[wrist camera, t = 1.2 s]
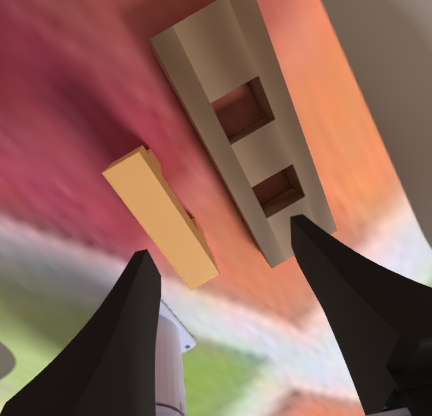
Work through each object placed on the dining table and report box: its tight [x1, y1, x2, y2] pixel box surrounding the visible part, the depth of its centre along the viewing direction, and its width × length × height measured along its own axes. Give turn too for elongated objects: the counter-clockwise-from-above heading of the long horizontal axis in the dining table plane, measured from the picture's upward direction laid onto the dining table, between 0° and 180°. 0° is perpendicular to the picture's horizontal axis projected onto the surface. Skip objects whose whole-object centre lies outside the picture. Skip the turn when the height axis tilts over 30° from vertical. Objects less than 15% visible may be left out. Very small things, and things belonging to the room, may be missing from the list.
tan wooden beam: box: [102, 145, 220, 290], centre depth 19 cm, size 2×10×6 cm, turn 28°
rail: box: [150, 0, 337, 268], centre depth 20 cm, size 7×20×2 cm, turn 28°
